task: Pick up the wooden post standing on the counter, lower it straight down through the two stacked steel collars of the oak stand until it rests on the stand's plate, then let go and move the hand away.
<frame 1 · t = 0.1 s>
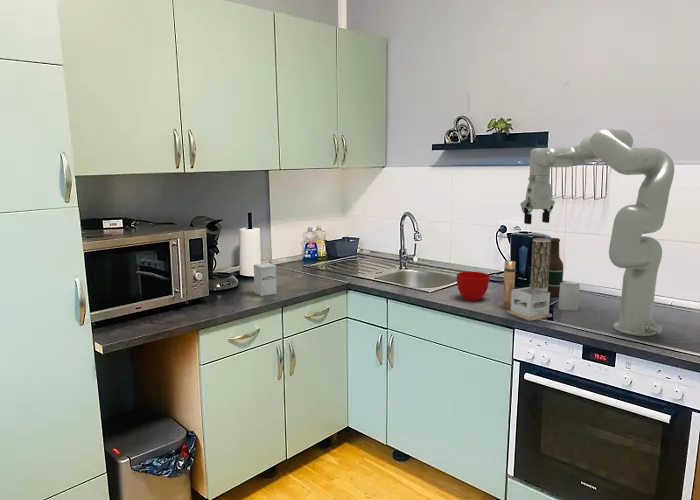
hand: (536, 223, 207), 31 cm above the worktop, tool pointing down, fingers open, 9 cm apart
light gray block: (568, 309, 198), on the worktop
wooden post: (507, 307, 201), on the worktop
supplement box: (265, 293, 223), on the worktop
collar stand: (529, 314, 191), on the worktop
ceramic cup: (474, 298, 215), on the worktop
wooden log: (538, 300, 210), on the worktop
beer bottle: (551, 294, 219), on the worktop
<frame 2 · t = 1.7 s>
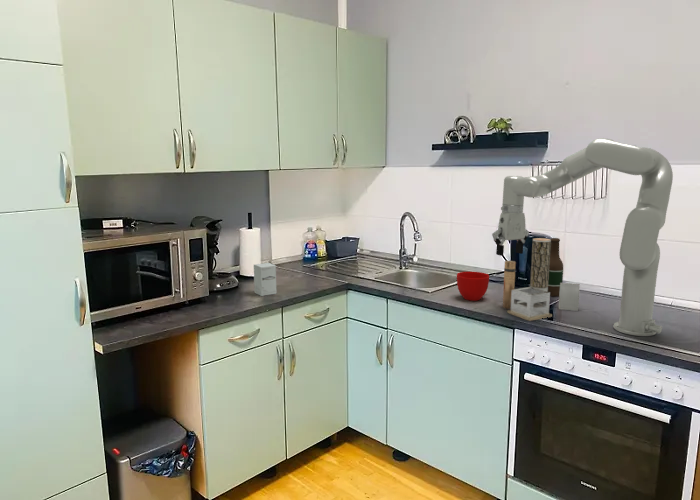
hand: (509, 254, 197), 21 cm above the worktop, tool pointing down, fingers open, 9 cm apart
nothing on the worktop moved.
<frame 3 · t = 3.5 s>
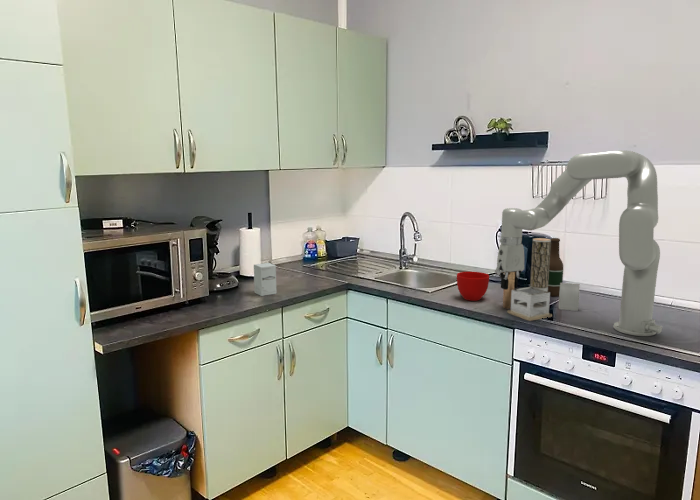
hand: (508, 287, 199), 8 cm above the worktop, tool pointing down, fingers closed on wooden post, 4 cm apart
wooden post: (507, 307, 201), on the worktop, touching gripper
everything else where it was.
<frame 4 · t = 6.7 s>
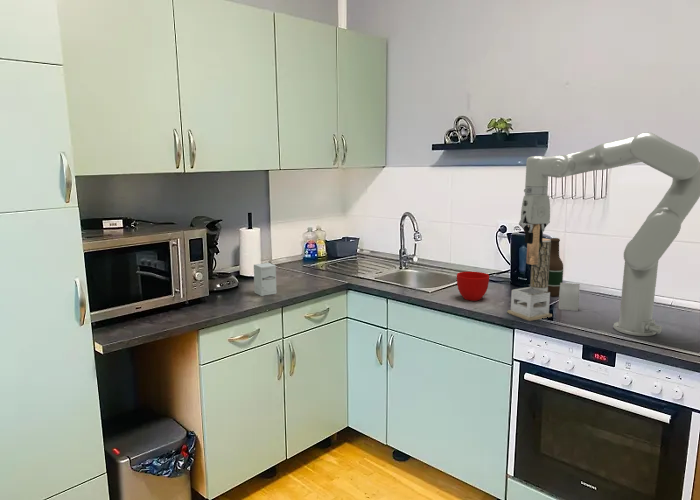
hand: (533, 242, 186), 27 cm above the worktop, tool pointing down, fingers closed on wooden post, 4 cm apart
wooden post: (532, 263, 188), point 19 cm above the worktop, touching gripper
everything else where it was.
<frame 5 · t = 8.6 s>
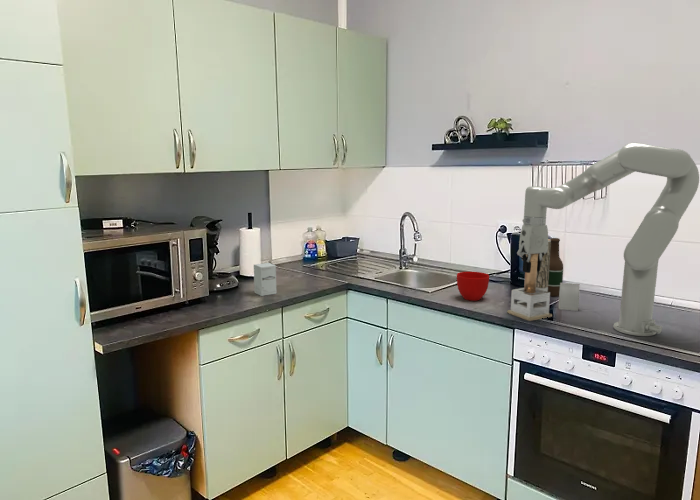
hand: (531, 271, 188), 17 cm above the worktop, tool pointing down, fingers closed on wooden post, 4 cm apart
wooden post: (529, 291, 190), point 9 cm above the worktop, touching gripper
everything else where it was.
when the fingers open (11 cm above the worktop, at t = 10.1 s): wooden post drops 2 cm, resting on collar stand.
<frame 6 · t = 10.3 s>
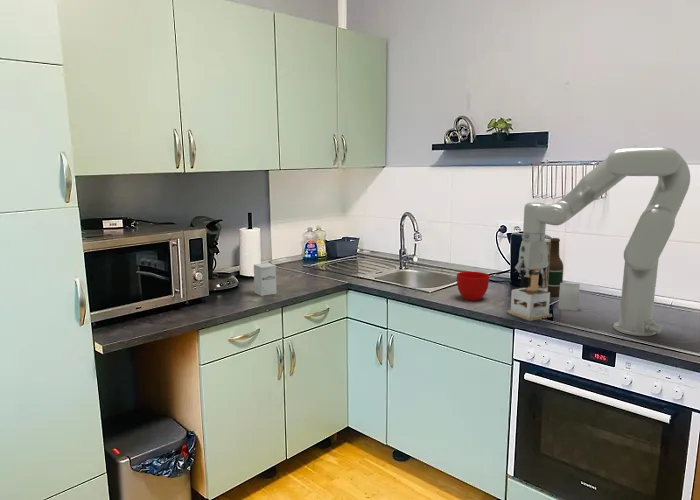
hand: (531, 285, 189), 11 cm above the worktop, tool pointing down, fingers open, 6 cm apart
wooden post: (529, 312, 191), point 1 cm above the worktop, touching collar stand
everything else where it was.
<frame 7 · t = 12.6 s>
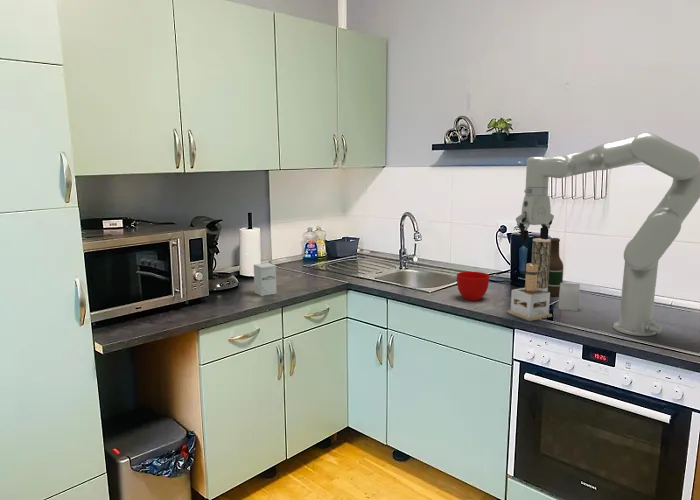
hand: (534, 240, 186), 28 cm above the worktop, tool pointing down, fingers open, 9 cm apart
nothing on the worktop moved.
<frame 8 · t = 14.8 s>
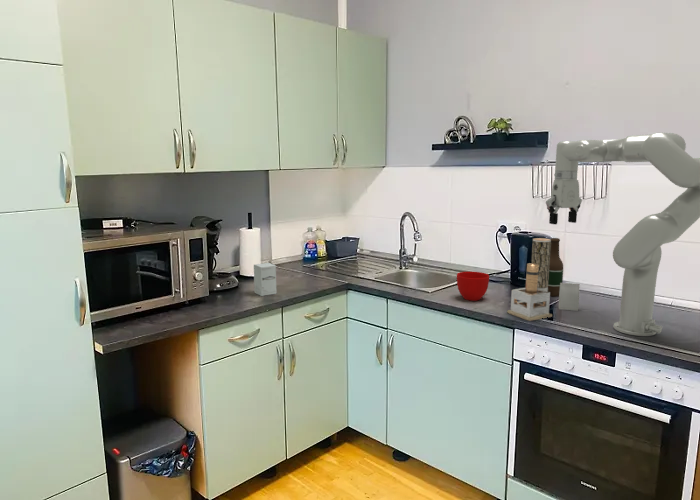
hand: (562, 223, 190), 33 cm above the worktop, tool pointing down, fingers open, 9 cm apart
nothing on the worktop moved.
at the end: wooden post 0.1 cm off-centre on the collar stand, point 1.0 cm above the collar stand's base; wooden post tilted 1°; the gripper is holding nothing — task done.
